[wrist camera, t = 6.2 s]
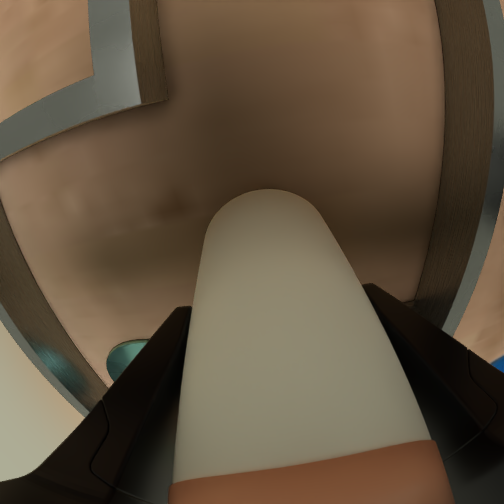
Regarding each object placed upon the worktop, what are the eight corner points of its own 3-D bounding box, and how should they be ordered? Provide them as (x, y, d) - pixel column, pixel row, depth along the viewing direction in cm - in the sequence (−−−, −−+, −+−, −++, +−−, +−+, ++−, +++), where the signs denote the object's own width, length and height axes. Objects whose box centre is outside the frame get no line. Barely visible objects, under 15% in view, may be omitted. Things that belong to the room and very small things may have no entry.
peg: (330, 181, 9) (515, 472, 1) (327, 290, 11) (398, 518, 4) (190, 196, 9) (103, 546, 1) (215, 303, 11) (207, 546, 4)
